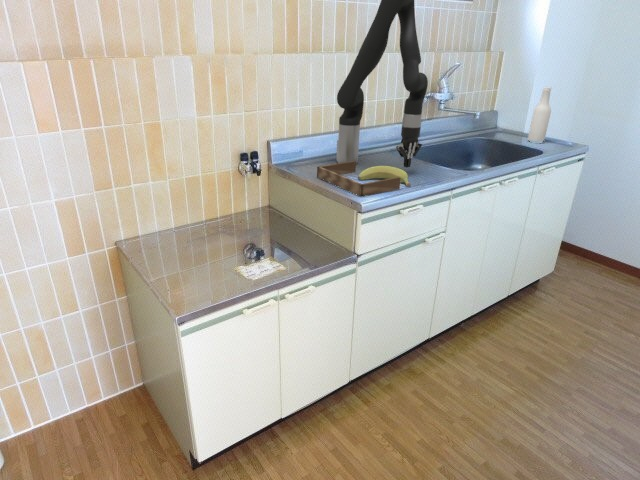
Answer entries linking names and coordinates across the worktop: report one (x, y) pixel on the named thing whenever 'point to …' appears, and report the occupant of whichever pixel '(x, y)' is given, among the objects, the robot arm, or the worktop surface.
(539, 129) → the alcohol
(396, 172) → the banana
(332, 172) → the box
